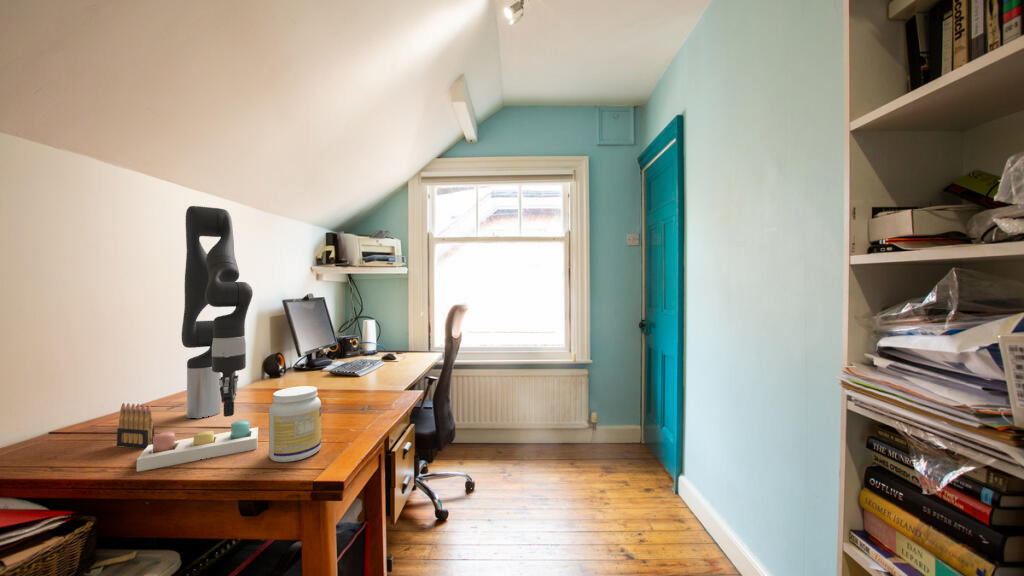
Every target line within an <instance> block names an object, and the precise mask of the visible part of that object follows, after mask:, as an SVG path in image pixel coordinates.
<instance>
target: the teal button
mask: <svg viewBox="0 0 1024 576" xmlns="http://www.w3.org/2000/svg"><path fill="white" fill-rule="evenodd" d="M230 424H231V425H230V432H231V440H233V439H238V438H244V437H249V429H250V420H243V419H242V420H239V421H237V420H236V421H235V422H232V423H230Z"/></svg>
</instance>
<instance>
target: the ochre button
mask: <svg viewBox="0 0 1024 576" xmlns="http://www.w3.org/2000/svg"><path fill="white" fill-rule="evenodd" d="M214 432H215V431H213V430H205V431H200V432H197V433H195V434H193V438H194V446H198V445H204V444H210V443H214V434H215V433H214Z"/></svg>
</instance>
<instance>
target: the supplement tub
mask: <svg viewBox="0 0 1024 576" xmlns="http://www.w3.org/2000/svg"><path fill="white" fill-rule="evenodd" d="M318 395H319V393H318V387H316V386H311V385H304V386H292V387H287V388H283V389H279V390H277V391H275V392H273V394H272V402H273V403H272V404H270V406H269V409H268V455H269V458H270V460H272V461H274V462H277V463H288V462H294V461H295V462H296V461H300V460H304V459H306V458H309V457H311V456H313V455H315V454H316V453H318V451H319V450H320V449H321V447H322V401H321V399H320V398H319V397H318Z"/></svg>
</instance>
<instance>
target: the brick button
mask: <svg viewBox="0 0 1024 576" xmlns="http://www.w3.org/2000/svg"><path fill="white" fill-rule="evenodd" d="M175 441H176V432H175V431H165V432H161V433H158V434H154V436H153V453H158V452H163V451H169V450H175Z"/></svg>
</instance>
